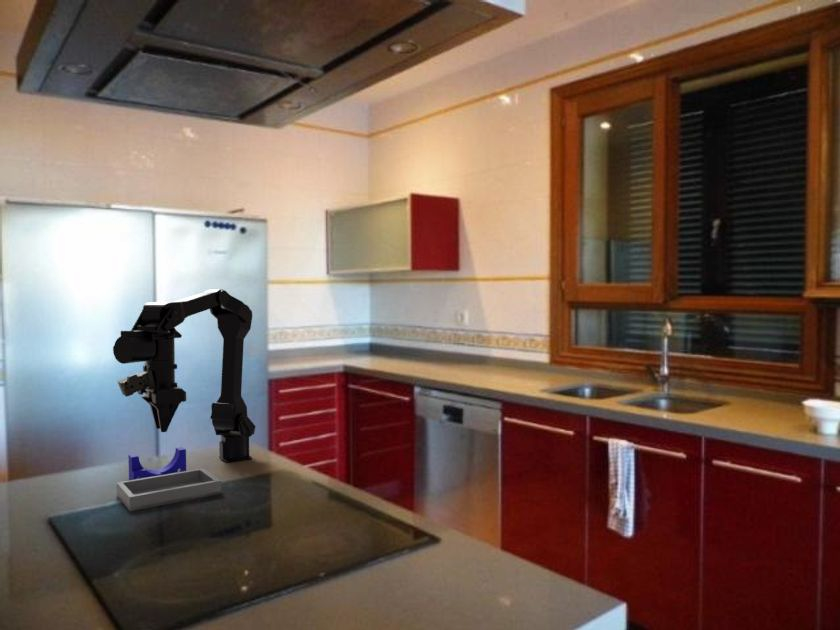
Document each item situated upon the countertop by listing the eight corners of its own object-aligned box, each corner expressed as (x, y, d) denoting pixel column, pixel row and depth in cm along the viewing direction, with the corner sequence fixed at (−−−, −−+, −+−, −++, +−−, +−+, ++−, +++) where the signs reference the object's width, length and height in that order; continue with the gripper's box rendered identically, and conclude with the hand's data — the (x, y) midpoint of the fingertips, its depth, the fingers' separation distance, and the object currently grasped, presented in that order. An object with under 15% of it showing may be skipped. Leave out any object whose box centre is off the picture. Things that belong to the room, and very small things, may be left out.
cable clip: (133, 485, 144) (133, 458, 144) (128, 480, 148) (128, 454, 148) (188, 475, 151) (187, 450, 151) (182, 471, 155) (182, 446, 155)
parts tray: (203, 481, 146) (203, 468, 146) (221, 494, 137) (221, 480, 137) (116, 496, 136) (116, 482, 136) (129, 512, 126) (129, 497, 126)
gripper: (113, 358, 145) (113, 427, 146) (129, 365, 130) (130, 442, 130) (165, 355, 152) (165, 422, 152) (186, 362, 136) (187, 436, 137)
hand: (161, 430), depth 143 cm, fingers open, 4 cm apart
